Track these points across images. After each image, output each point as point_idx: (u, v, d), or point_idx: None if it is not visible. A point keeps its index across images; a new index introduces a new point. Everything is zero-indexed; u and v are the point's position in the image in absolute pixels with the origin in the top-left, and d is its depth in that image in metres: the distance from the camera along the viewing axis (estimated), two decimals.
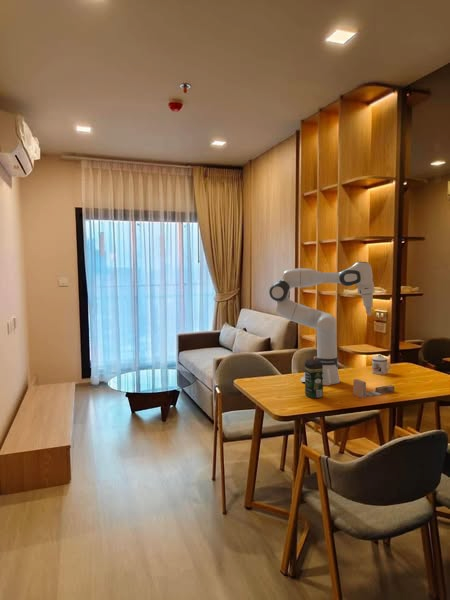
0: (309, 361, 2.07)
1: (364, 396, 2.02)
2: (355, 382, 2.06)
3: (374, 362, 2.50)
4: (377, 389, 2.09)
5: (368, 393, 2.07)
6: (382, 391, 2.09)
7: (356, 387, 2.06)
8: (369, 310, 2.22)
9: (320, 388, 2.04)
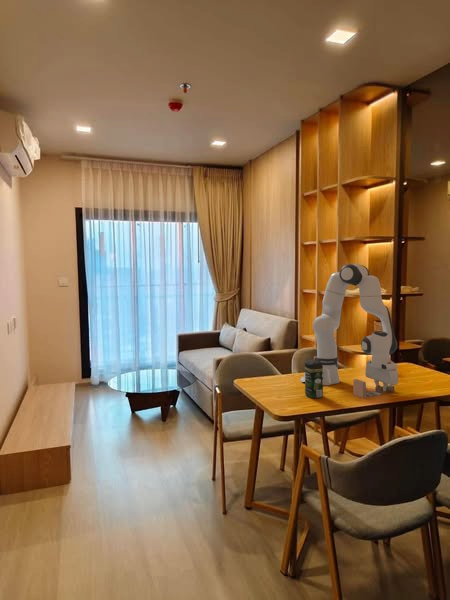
0: (309, 361, 2.07)
1: (364, 396, 2.02)
2: (355, 382, 2.06)
3: None
4: (377, 389, 2.09)
5: (368, 393, 2.07)
6: None
7: (356, 387, 2.06)
8: (386, 385, 2.07)
9: (320, 388, 2.04)
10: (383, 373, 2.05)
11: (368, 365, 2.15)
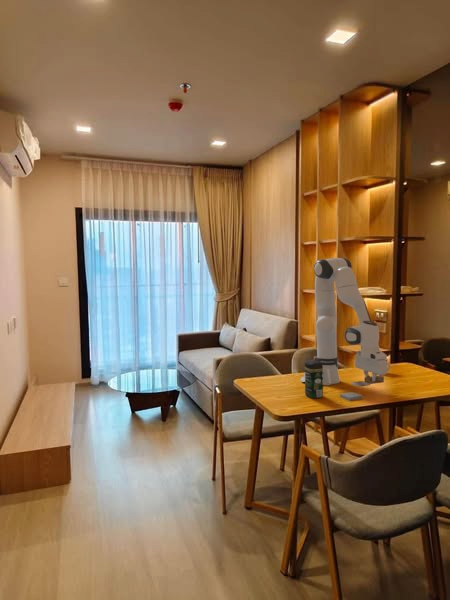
0: (309, 361, 2.07)
1: (360, 397, 2.01)
2: None
3: None
4: (366, 379, 2.06)
5: (357, 383, 2.04)
6: (371, 381, 2.06)
7: None
8: (375, 375, 2.04)
9: (320, 388, 2.04)
10: (372, 363, 2.03)
11: (358, 355, 2.13)
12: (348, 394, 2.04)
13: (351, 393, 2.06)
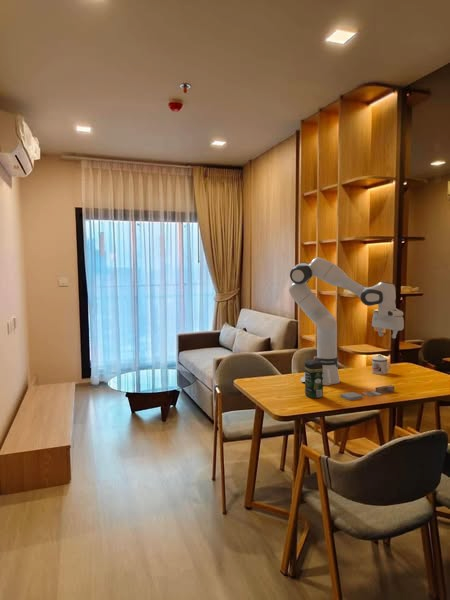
0: (309, 361, 2.07)
1: (361, 397, 2.01)
2: None
3: (374, 362, 2.50)
4: (377, 389, 2.09)
5: (368, 393, 2.07)
6: (382, 391, 2.09)
7: None
8: (396, 333, 2.15)
9: (320, 388, 2.04)
10: (389, 320, 2.16)
11: (375, 315, 2.26)
12: (348, 394, 2.04)
13: (351, 393, 2.06)
